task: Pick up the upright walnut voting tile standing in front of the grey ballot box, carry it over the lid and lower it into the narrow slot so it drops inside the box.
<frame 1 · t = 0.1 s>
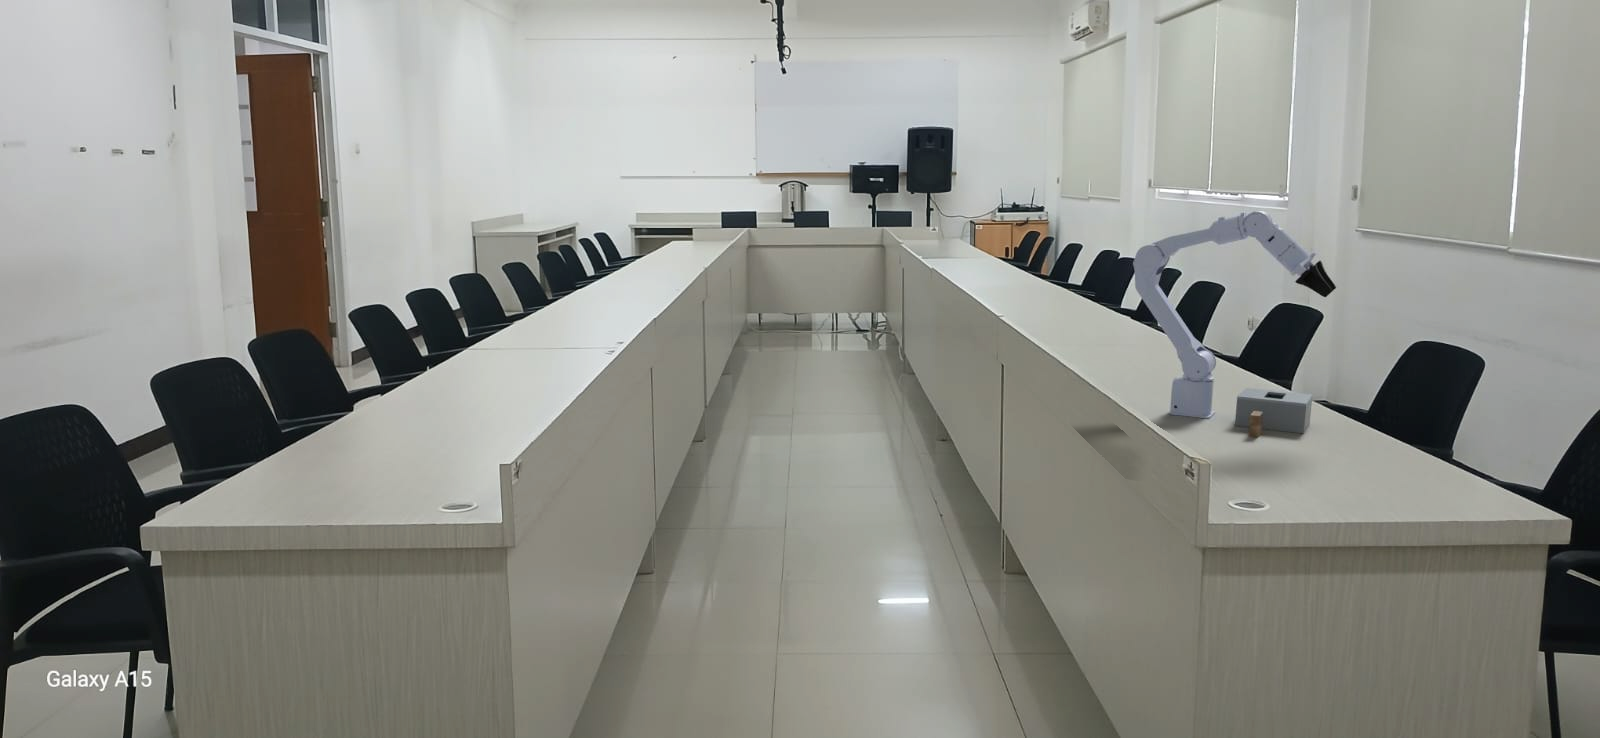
hand: (1330, 292, 265), 32 cm above the table, fingers open, 7 cm apart
tile: (1254, 434, 264), on the table
ballot box: (1272, 424, 274), on the table
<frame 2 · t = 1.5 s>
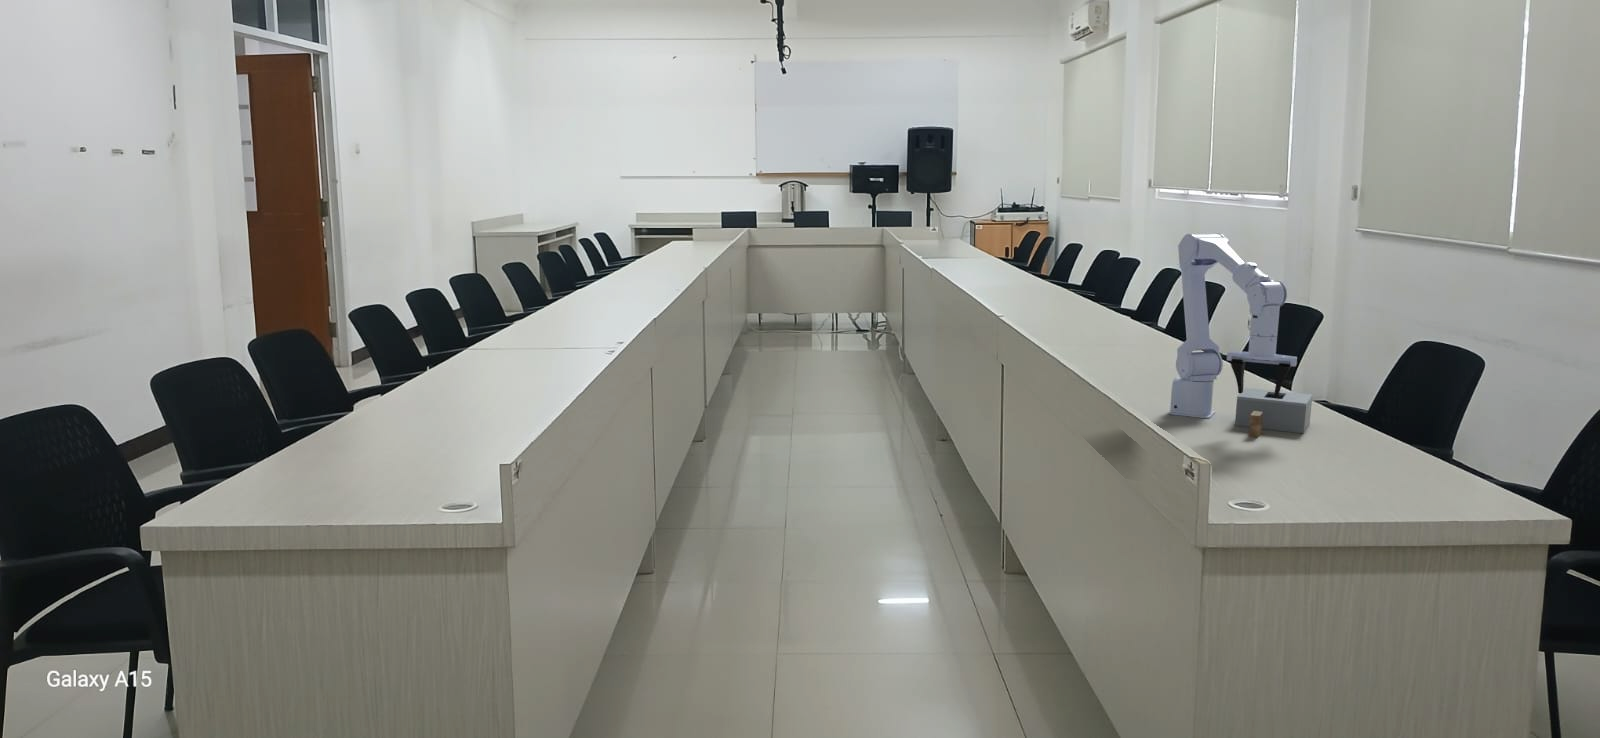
hand: (1258, 394, 262), 9 cm above the table, fingers open, 7 cm apart
nothing on the table moved.
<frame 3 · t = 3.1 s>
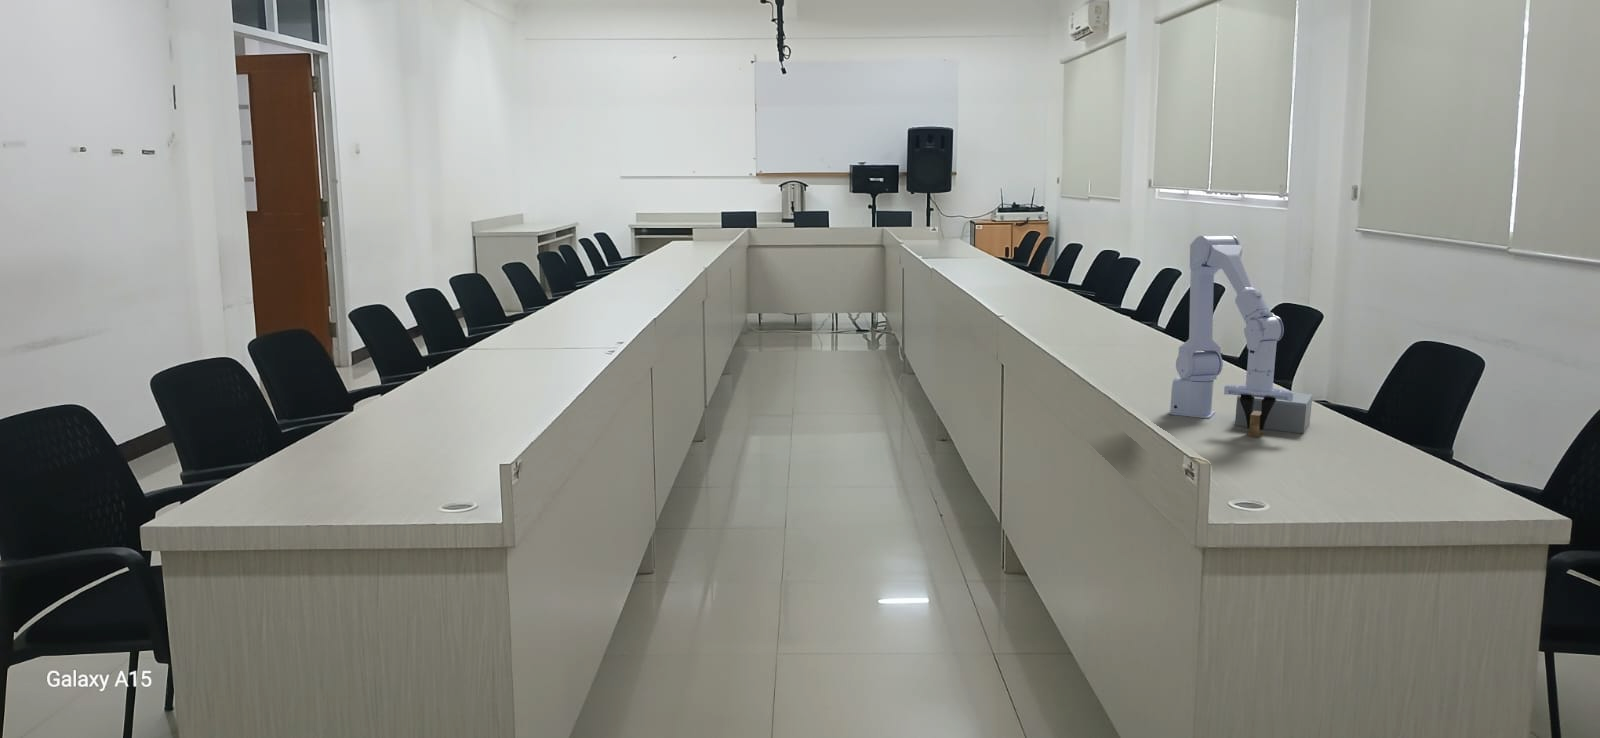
hand: (1255, 428, 264), 1 cm above the table, fingers closed on tile, 2 cm apart
tile: (1255, 434, 264), on the table, touching gripper
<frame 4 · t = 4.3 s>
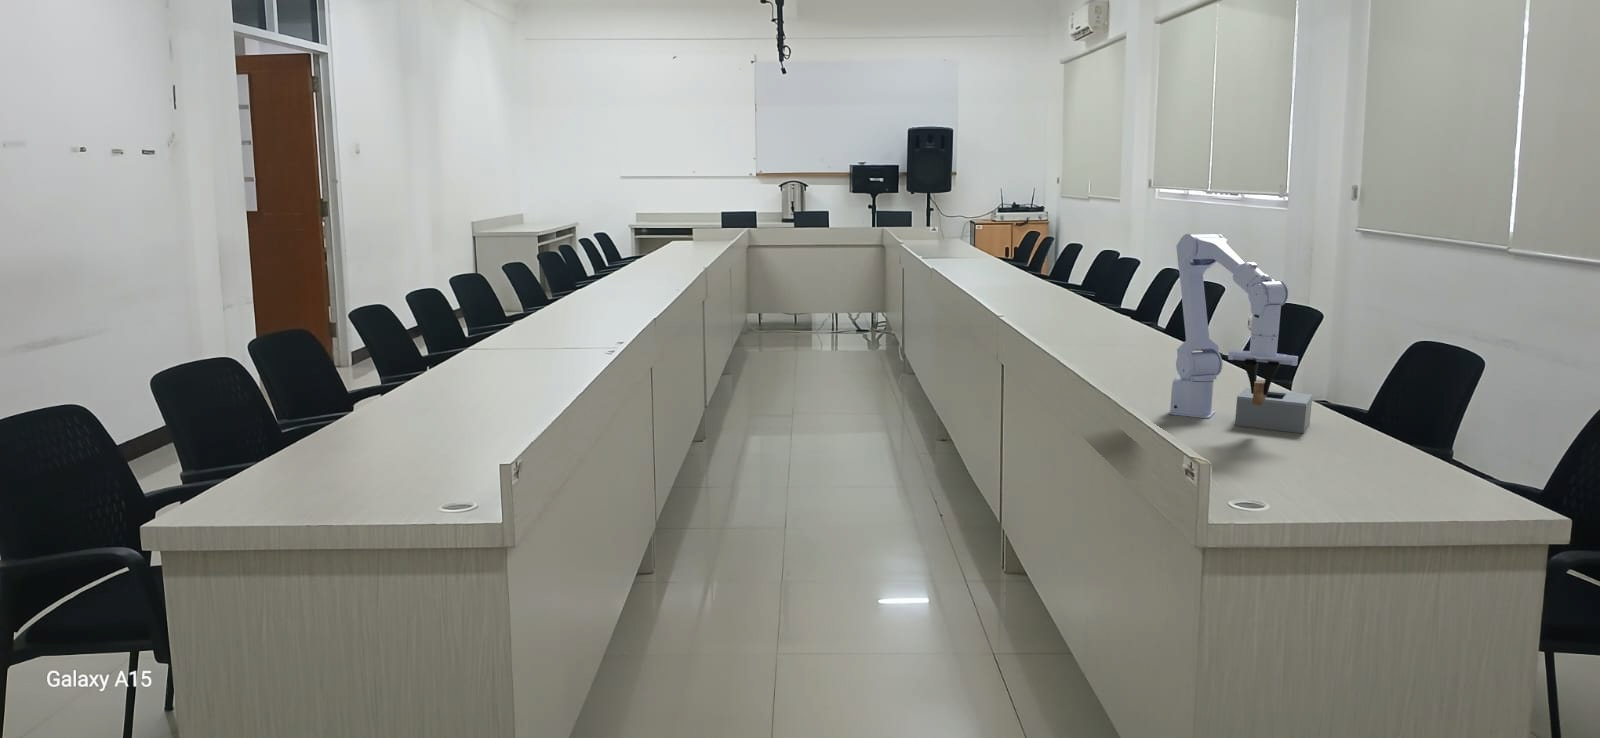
hand: (1259, 393, 263), 9 cm above the table, fingers closed on tile
tile: (1258, 403, 264), point 7 cm above the table, touching gripper
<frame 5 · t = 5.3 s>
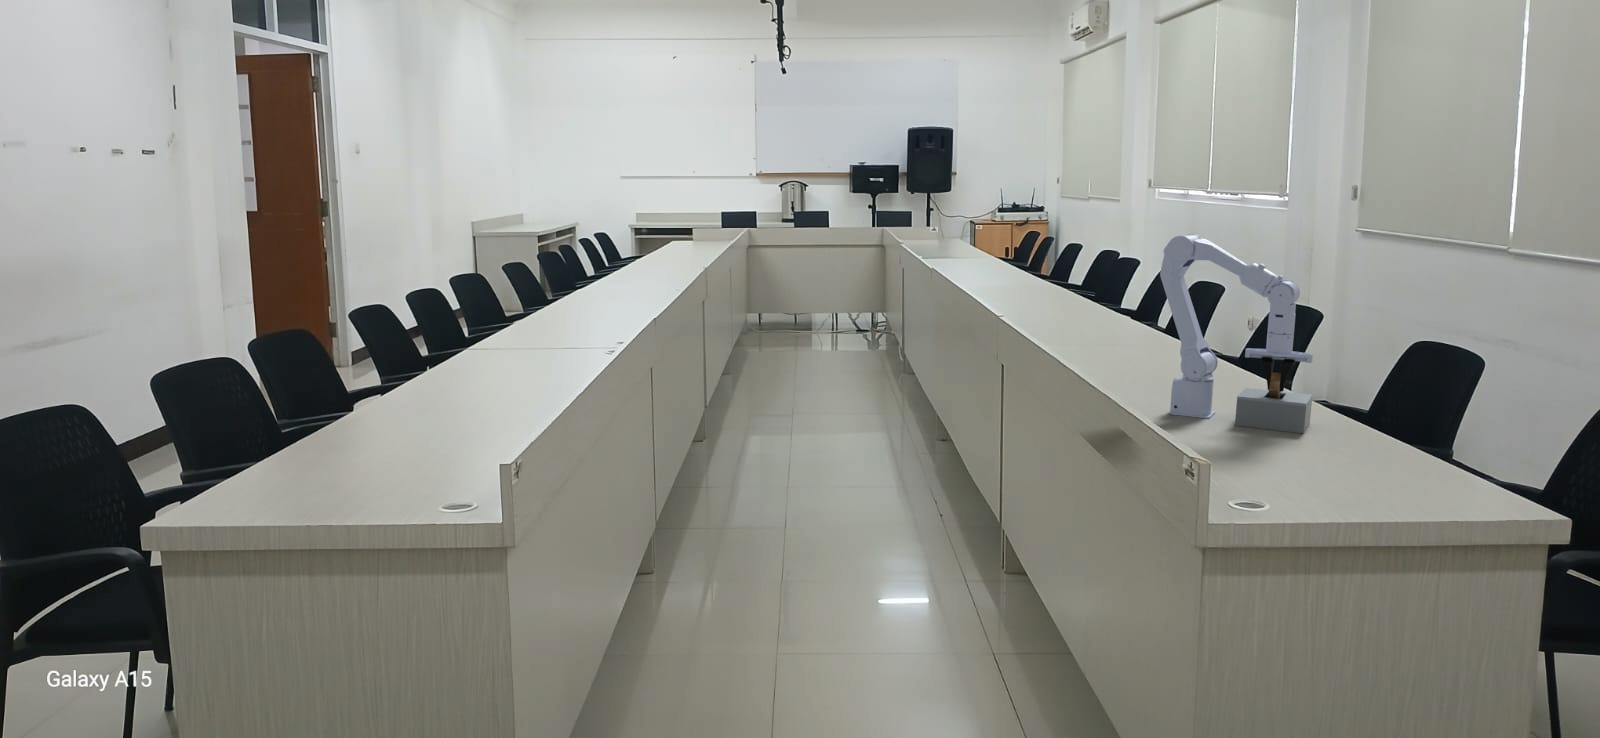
hand: (1275, 390, 273), 8 cm above the table, fingers closed on tile
tile: (1273, 396, 271), point 7 cm above the table, tilted 42°, touching gripper
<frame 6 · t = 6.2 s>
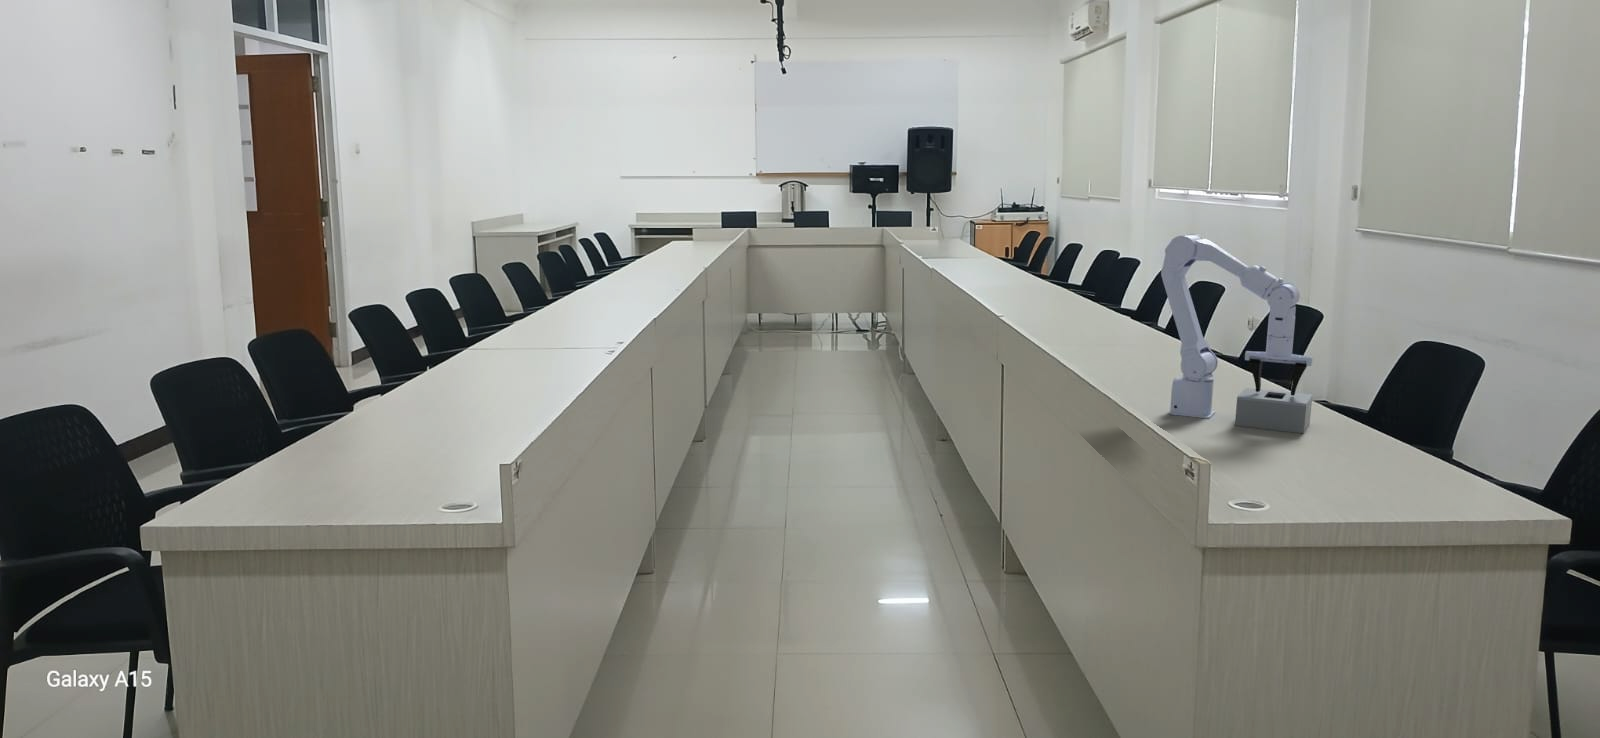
hand: (1275, 392, 273), 8 cm above the table, fingers open, 7 cm apart
tile: (1272, 421, 272), point 1 cm above the table, tilted 12°, touching ballot box
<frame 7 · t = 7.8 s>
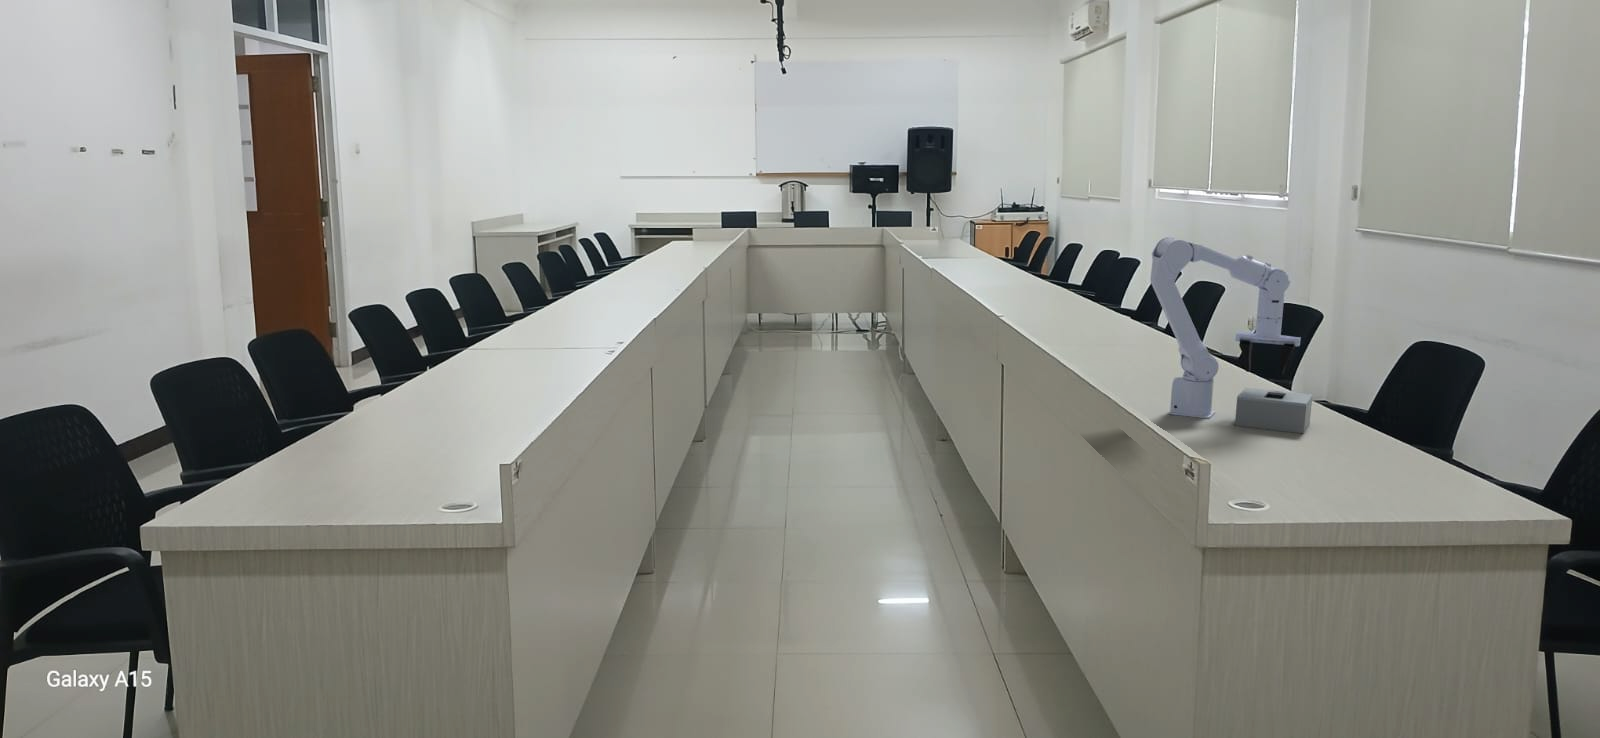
hand: (1264, 372, 283), 10 cm above the table, fingers open, 7 cm apart
nothing on the table moved.
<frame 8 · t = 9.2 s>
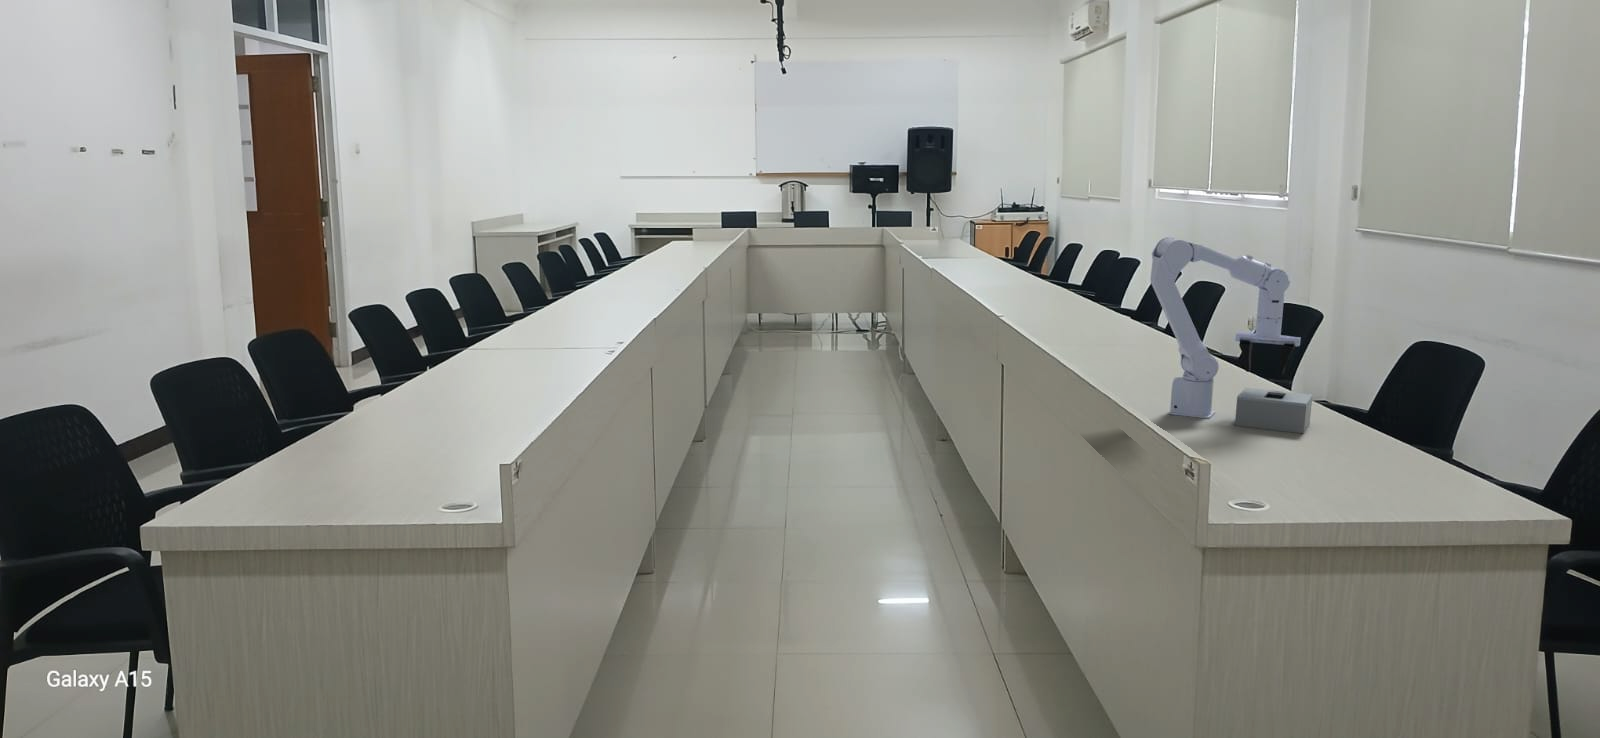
hand: (1264, 372, 283), 10 cm above the table, fingers open, 7 cm apart
nothing on the table moved.
at the end: tile inside the target area on the ballot box (2.3 cm from its centre), point 1.1 cm above the ballot box's base; the gripper is holding nothing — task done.
